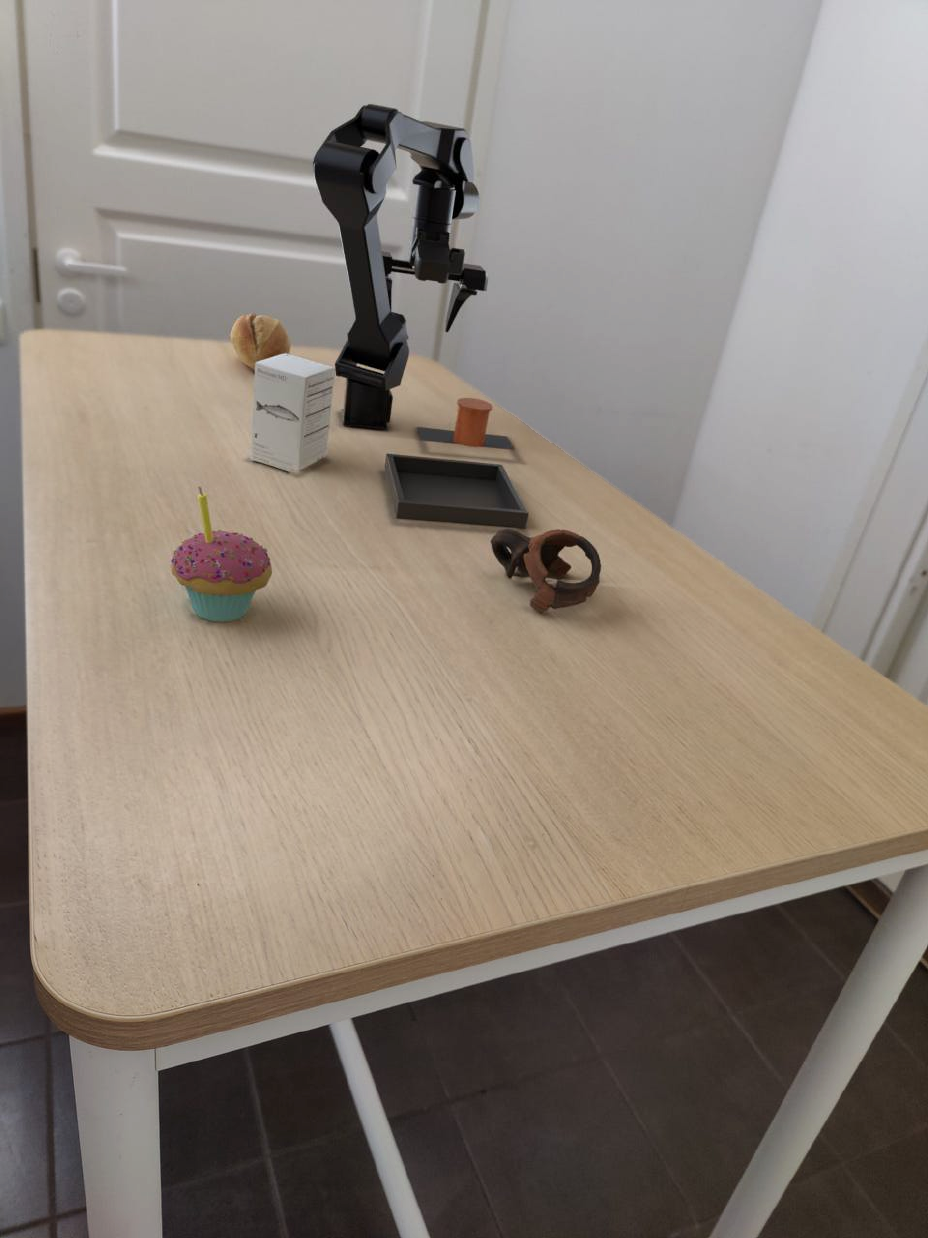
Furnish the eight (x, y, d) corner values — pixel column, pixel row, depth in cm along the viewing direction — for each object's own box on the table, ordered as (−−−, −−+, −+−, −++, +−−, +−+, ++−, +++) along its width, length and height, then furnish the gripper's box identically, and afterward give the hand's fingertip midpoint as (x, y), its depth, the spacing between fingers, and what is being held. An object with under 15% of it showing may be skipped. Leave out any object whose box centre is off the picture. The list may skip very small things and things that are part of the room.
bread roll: (235, 376, 141) (236, 325, 137) (225, 350, 152) (226, 302, 148) (295, 380, 144) (298, 330, 140) (281, 354, 156) (283, 308, 152)
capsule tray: (395, 524, 102) (398, 502, 101) (383, 473, 115) (386, 453, 114) (524, 534, 105) (528, 513, 104) (498, 483, 119) (502, 464, 117)
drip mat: (425, 453, 124) (426, 450, 124) (417, 429, 133) (417, 426, 132) (520, 462, 127) (521, 459, 127) (506, 438, 136) (506, 436, 136)
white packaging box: (247, 460, 111) (252, 360, 105) (279, 446, 117) (285, 351, 111) (298, 477, 109) (306, 376, 103) (328, 461, 115) (337, 365, 109)
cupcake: (182, 637, 75) (183, 508, 69) (162, 589, 81) (161, 467, 75) (280, 626, 79) (289, 504, 73) (254, 581, 85) (260, 465, 79)
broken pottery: (588, 584, 98) (619, 543, 91) (563, 650, 93) (593, 613, 86) (492, 535, 97) (516, 491, 90) (461, 598, 92) (483, 557, 85)
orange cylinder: (453, 447, 127) (460, 407, 124) (448, 435, 131) (454, 395, 128) (488, 451, 128) (495, 411, 125) (482, 438, 133) (489, 399, 130)
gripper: (373, 217, 121) (361, 332, 129) (503, 238, 125) (484, 348, 133) (367, 207, 130) (356, 315, 138) (489, 227, 135) (472, 330, 142)
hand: (417, 327), depth 138 cm, fingers open, 9 cm apart
